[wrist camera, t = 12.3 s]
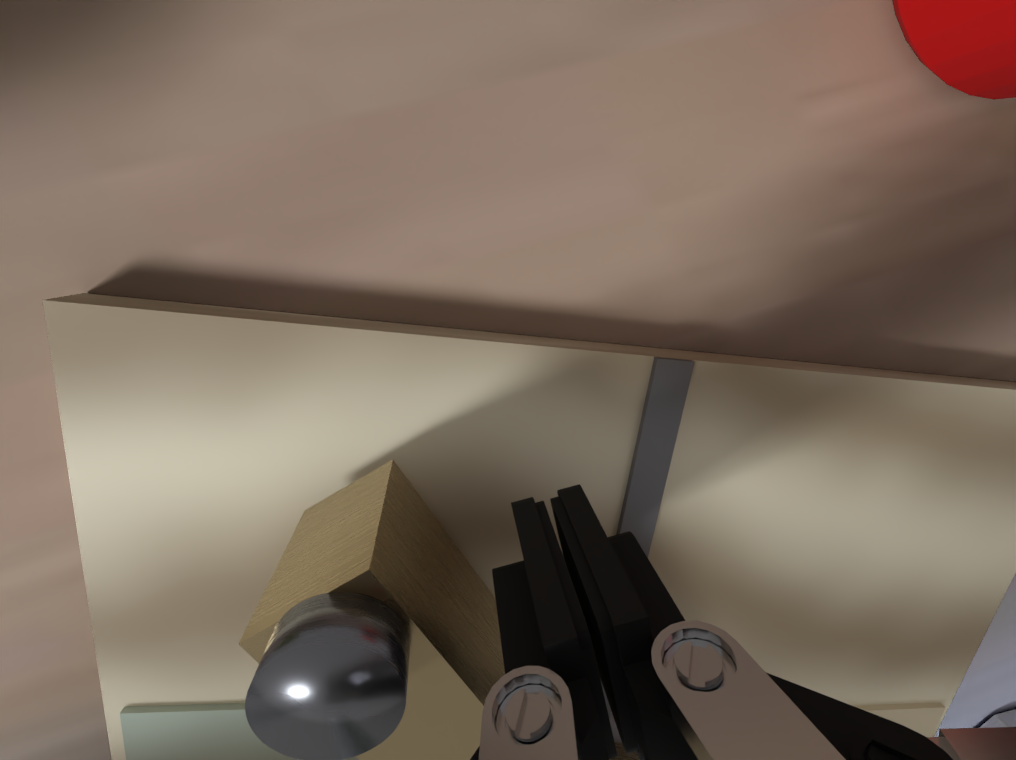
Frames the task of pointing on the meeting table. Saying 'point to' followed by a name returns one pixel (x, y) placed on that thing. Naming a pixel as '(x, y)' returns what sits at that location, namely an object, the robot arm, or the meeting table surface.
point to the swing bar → (373, 634)
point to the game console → (1001, 720)
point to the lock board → (522, 492)
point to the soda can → (964, 42)
